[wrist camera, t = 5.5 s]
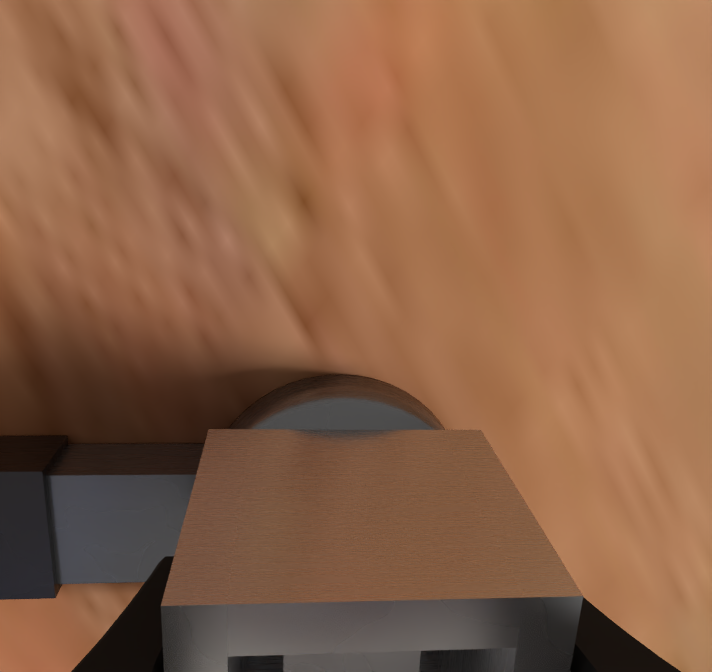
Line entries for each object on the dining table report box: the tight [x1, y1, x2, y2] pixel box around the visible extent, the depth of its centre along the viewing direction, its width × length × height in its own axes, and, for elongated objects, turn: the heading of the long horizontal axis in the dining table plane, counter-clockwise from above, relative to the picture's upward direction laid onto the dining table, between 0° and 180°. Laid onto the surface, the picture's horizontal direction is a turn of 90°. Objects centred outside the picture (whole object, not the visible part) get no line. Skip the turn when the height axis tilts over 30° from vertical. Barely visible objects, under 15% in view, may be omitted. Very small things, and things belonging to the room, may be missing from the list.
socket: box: [161, 429, 583, 672], centre depth 12 cm, size 5×5×5 cm
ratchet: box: [0, 375, 445, 672], centre depth 13 cm, size 14×6×5 cm, turn 87°
